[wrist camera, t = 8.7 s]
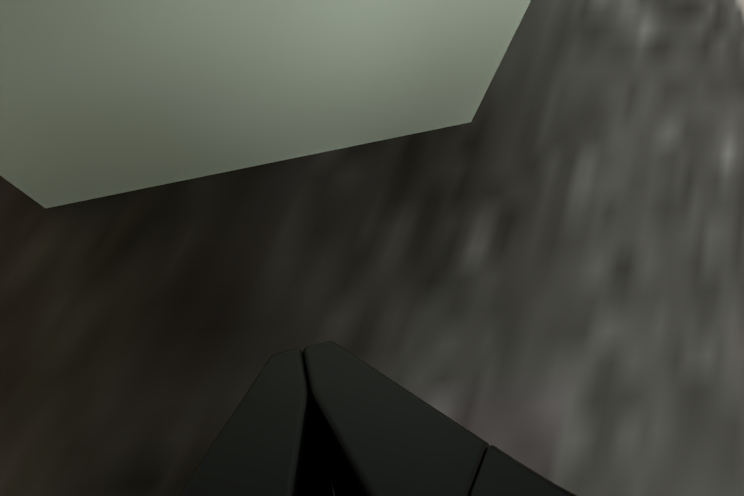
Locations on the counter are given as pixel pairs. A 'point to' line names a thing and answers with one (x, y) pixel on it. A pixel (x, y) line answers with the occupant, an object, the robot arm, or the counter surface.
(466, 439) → the robot arm
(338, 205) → the counter surface
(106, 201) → the counter surface
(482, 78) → the block
